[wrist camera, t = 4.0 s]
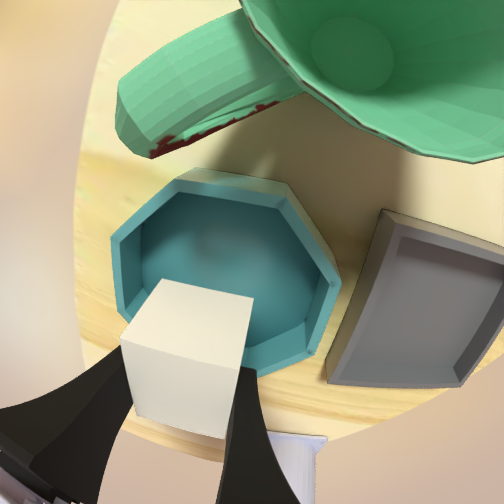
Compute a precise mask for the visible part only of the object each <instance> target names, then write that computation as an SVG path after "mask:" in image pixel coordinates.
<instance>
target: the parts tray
mask: <svg viewBox="0 0 504 504" xmlns="http://www.w3.org/2000/svg"><path fill="white" fill-rule="evenodd" d="M503 326H504V247H502V246H499V245H497V244H494V243H491V242H488V241H486V240H483V239H480V238H477V237H474V236H471V235H468V234H465V233H462V232H459V231H456V230H453V229H450V228H447V227H444V226H441V225H438V224H434V223H431V222H428V221H424V220H421V219H418V218H414V217H411V216H407V215H404V214H400V213H397V212H393V211H389V210H385V209H382V210H381V213H380V217H379V220H378V223H377V226H376V230H375V233H374V236H373V239H372V242H371V245H370V248H369V251H368V254H367V257H366V260H365V263H364V266H363V268H362V271H361V274H360V277H359V279H358V282H357V285H356V288H355V290H354V293H353V295H352V298H351V300H350V303H349V306H348V308H347V310H346V313H345V315H344V318H343V320H342V323H341V325H340V327H339V330H338V332H337V334H336V337H335V339H334V341H333V343H332V346H331V348H330V350H329V352H328V355H327V357H326V359H325V363H326V374H327V384H335V385H346V386H359V387H376V388H413V389H421V388H455V387H461V386H462V385H463V384H464V382H465V381H466V380H467V378H468V377H469V376H470V375H471V373H472V372H473V371H474V369H475V368H476V367H477V365H478V364H479V363H480V361H481V360H482V358H483V357H484V355H485V354H486V353H487V351H488V350H489V348H490V347H491V345H492V344H493V342H494V340H495V339H496V337H497V336H498V334H499V332H500V331H501V329H502V328H503Z"/></svg>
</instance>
